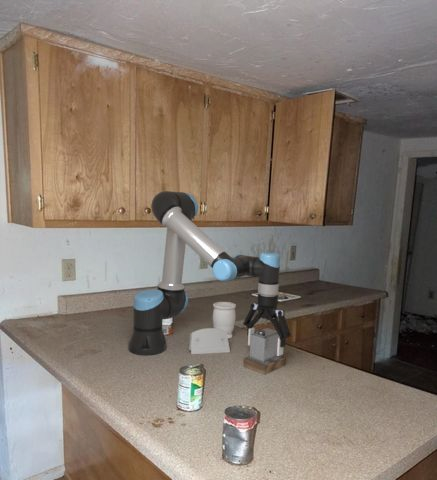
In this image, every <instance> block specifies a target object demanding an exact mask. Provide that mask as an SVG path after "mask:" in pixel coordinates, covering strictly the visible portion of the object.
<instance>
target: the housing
mask: <svg viewBox="0 0 437 480" xmlns="http://www.w3.org/2000/svg"><path fill="white" fill-rule="evenodd" d="M278 338H280V337H279V335H278V333H277V331H276V329H271V328H268V327H267V328H264V329H258V330H257V331H254V333H253V334H251V340H250V349H249V356H250V358H252V359H254V360H257V361H259V362H262V363H265V362H267V361H270V360H272V359H274V358H276V357H279V356H277V347H278Z"/></svg>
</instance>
